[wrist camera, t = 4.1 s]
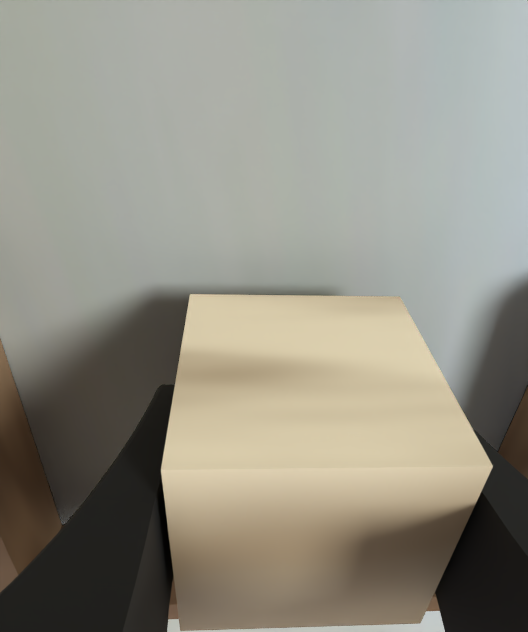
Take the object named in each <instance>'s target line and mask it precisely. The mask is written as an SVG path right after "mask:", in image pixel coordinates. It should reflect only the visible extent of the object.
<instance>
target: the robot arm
mask: <svg viewBox="0 0 528 632" xmlns="http://www.w3.org/2000/svg"><path fill="white" fill-rule="evenodd" d="M174 388H175V385H161V386H160V387H159V388H158V389H157V391H156V393H155V395H154V397H153V399H152V401H151V403H150V405H149V407H148V409H147V410H146V412H145V414H144V416H143V417H142V419H141V421H140V422H139V424H138V426H137V427H136V429H135V431H134V432H133V434H132V435H131V437H130V438H129V440H128V442H127V443H126V445H125V446H124V448H123V449H122V451H121V452H120V454H119V455H118V457H117V458H116V460H115V461H114V463H113V464H112V465H111V467H110V468H109V469H108V471H107V472H106V474H105V475H104V476H103V478H102V479H101V480H100V482H99V483H98V484H97V486H96V487H95V489H94V490H93V491H92V492H91V494H90V495H89V496H88V498H87V499H86V500H85V501H84V503H83V504H82V505H81V506H80V508H79V509H78V510H77V511H76V512H75V514H74V515H73V516H72V517H71V518H70V519H69V521H68V522H67V523H66V524H65V525H64V526H63V528H62V529H61V530H60V531H59V532H58V533H57V535H56V536H55V537H54V538H53V539H52V540H51V541H50V542H49V543H48V544H47V545H46V546H45V548H44V549H43V550H42V551H41V552H40V553H39V554H38V555H37V556H36V557H35V558H34V559H33V560H32V562H31V563H30V564H29V565H28V566H27V567H26V568H25V569H24V570H23V571H22V572H21V573H20V574H19V575H18V576H17V577H16V578H15V579H14V580H13V581H12V582H11V583H10V584H9V585H8V586H7V587H6V588H5V589H4V590H2V591H1V592H0V632H167V625H168V614H169V604H170V597H171V589H172V582H173V577H174V574H173V566H172V558H171V550H170V541H169V533H168V525H167V516H166V508H165V500H164V492H163V483H162V475H161V466H162V460H163V454H164V448H165V442H166V436H167V430H168V424H169V418H170V412H171V406H172V400H173V394H174ZM472 429H473V428H472ZM473 431H474V433H475V434H476V436H477V438H478V440H479V442H480V443H481V445H482V447H483V449H484V451H485V453H486V454H487V456H488V458H489V460H490V462H491V463H492V465H493V468H492V470H491V472H490V474H489V476H488V478H487V481H486V483H485V485H484V487H483V489H482V491H481V493H480V496H479V498H478V500H477V502H476V504H475V506H474V509H473V511H472V513H471V515H470V517H469V519H468V522H467V524H466V526H465V528H464V530H463V532H462V534H461V537H460V539H459V541H458V543H457V545H456V547H455V550H454V552H453V554H452V556H451V558H450V560H449V563H448V565H447V567H446V569H445V571H444V573H443V575H442V578H441V580H440V582H439V584H438V586H437V588H436V591H435V594H436V598H437V601H438V605H439V609H440V613H441V617H442V621H443V625H444V628H445V632H528V479H527V478H526V477H525V476H524V475H523V474H521V473H520V472H519V471H518V470H517V469H516V468H514V467H513V466H512V465H511V464H510V463H509V462H508V461H507V460H506V459H505V458H503V457H502V456H501V455H500V454H499V453H498V452H497V451H496V450H495V449H494V448H493V447H492V446H491V445H490V444H488V443H487V442H486V441H485V440H484V439H483V438H482V437H481V436H480V435H479V434H478V433H477V432H476V431H475V430H474V429H473Z"/></svg>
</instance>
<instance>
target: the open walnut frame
mask: <svg viewBox="0 0 528 632" xmlns="http://www.w3.org/2000/svg"><path fill="white" fill-rule="evenodd" d="M498 453H499V454H500V455H501V456H502V457H503V458H505V459H506V460H507V461H508V462H509V463H510V464H511V465H512V466H513V467H514V468H516V469H517V470H518V471H519V472H520V473H521V474H523V475H524V476H525V477H526V478H527V479H528V387H527V389H526V391H525V394H524V396H523V398H522V400H521V402H520V405H519V407H518V409H517V411H516V413H515V415H514V418H513V420H512V422H511V424H510V426H509V429H508V431H507V433H506V435H505V437H504V440H503V442H502V444H501V446H500V448H499V451H498ZM63 526H64V525H62V524H61V521H60V518H59V515H58V512H57V509H56V506H55V503H54V500H53V497H52V494H51V491H50V488H49V485H48V482H47V479H46V476H45V473H44V470H43V467H42V464H41V461H40V458H39V455H38V452H37V449H36V446H35V443H34V439H33V436H32V433H31V430H30V427H29V424H28V421H27V418H26V415H25V412H24V409H23V406H22V403H21V400H20V397H19V394H18V391H17V388H16V385H15V382H14V379H13V376H12V373H11V370H10V367H9V364H8V361H7V358H6V355H5V352H4V348H3V345H2V342H1V339H0V592H1V591H2V590H4V589H5V588H6V587H7V586H8V585H9V584H10V583H11V582H12V581H13V580H14V579H15V578H16V577H17V576H18V575H19V574H20V573H21V572H22V571H23V570H24V569H25V568H26V567H27V566H28V565H29V564H30V563H31V562H32V560H33V559H34V558H35V557H36V556H37V555H38V554H39V553H40V552H41V551H42V550H43V549H44V548H45V546H46V545H47V544H48V543H49V542H50V541H51V540H52V539H53V538H54V537H55V536H56V535H57V533H58V532H59V531H60V530H61V529H62V528H63ZM426 611H440V609H439V605H438V601H437V598H436V594H435V593H434V595H433V597H432V599H431V601H430V604H429V606H428V608H427V610H426ZM168 619H179V616H178V607H177V599H176V591H175V583H174V577H173V582H172V589H171V597H170V604H169V614H168Z"/></svg>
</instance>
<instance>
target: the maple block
mask: <svg viewBox="0 0 528 632" xmlns="http://www.w3.org/2000/svg"><path fill="white" fill-rule="evenodd" d="M492 468H493V465H492V463H491V462H490V460H489V458H488V456H487V454H486V453H485V451H484V449H483V447H482V445H481V443H480V442H479V440H478V438H477V436H476V434H475V433H474V431H473V429H472V427H471V425H470V423H469V422H468V420H467V418H466V416H465V414H464V413H463V411H462V409H461V407H460V405H459V403H458V402H457V400H456V398H455V396H454V394H453V393H452V391H451V389H450V387H449V385H448V383H447V382H446V380H445V378H444V376H443V374H442V373H441V371H440V369H439V367H438V365H437V363H436V362H435V360H434V358H433V356H432V354H431V353H430V351H429V349H428V347H427V345H426V343H425V342H424V340H423V338H422V336H421V334H420V333H419V331H418V329H417V327H416V325H415V323H414V322H413V320H412V318H411V316H410V314H409V313H408V311H407V309H406V307H405V305H404V303H403V302H402V300H401V298H400V297H390V296H302V295H215V294H190V297H189V303H188V309H187V315H186V321H185V327H184V333H183V339H182V345H181V352H180V358H179V364H178V370H177V376H176V382H175V388H174V394H173V400H172V406H171V412H170V418H169V424H168V430H167V436H166V442H165V448H164V454H163V460H162V466H161V475H162V483H163V492H164V500H165V508H166V516H167V525H168V533H169V541H170V550H171V558H172V566H173V574H174V583H175V591H176V599H177V607H178V616H179V624H180V631H190V630H222V629H255V628H287V627H320V626H352V625H385V624H417V623H421V621H422V619H423V616H424V614H425V612H426V610H427V608H428V606H429V604H430V601H431V599H432V597H433V595H434V593H435V591H436V588H437V586H438V584H439V582H440V580H441V578H442V575H443V573H444V571H445V569H446V567H447V565H448V563H449V560H450V558H451V556H452V554H453V552H454V550H455V547H456V545H457V543H458V541H459V539H460V537H461V534H462V532H463V530H464V528H465V526H466V524H467V522H468V519H469V517H470V515H471V513H472V511H473V509H474V506H475V504H476V502H477V500H478V498H479V496H480V493H481V491H482V489H483V487H484V485H485V483H486V481H487V478H488V476H489V474H490V472H491V470H492Z"/></svg>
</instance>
